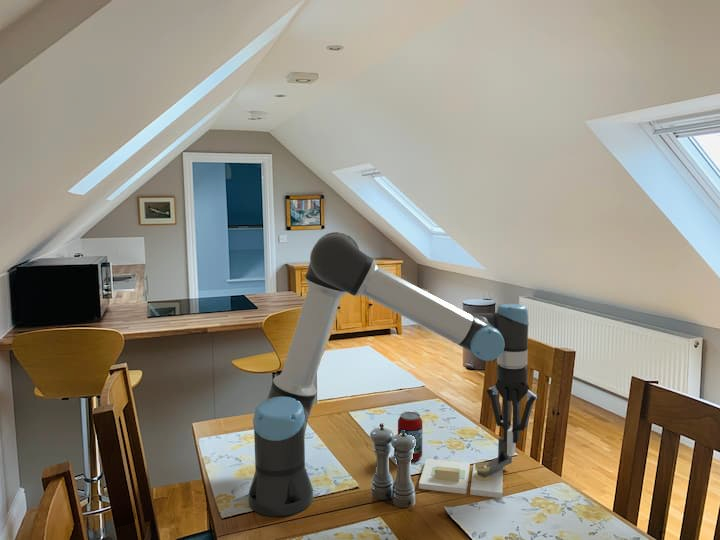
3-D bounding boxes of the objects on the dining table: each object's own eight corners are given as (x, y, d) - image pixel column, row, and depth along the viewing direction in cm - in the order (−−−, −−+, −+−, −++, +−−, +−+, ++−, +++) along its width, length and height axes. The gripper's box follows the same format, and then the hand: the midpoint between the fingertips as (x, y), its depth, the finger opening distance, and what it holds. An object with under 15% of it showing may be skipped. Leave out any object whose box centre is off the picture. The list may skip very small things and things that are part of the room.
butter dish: (466, 494, 139) (466, 479, 139) (418, 488, 142) (418, 473, 142) (469, 468, 153) (470, 454, 152) (426, 463, 155) (426, 450, 155)
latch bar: (484, 480, 142) (484, 454, 142) (472, 475, 145) (472, 450, 144) (513, 463, 151) (514, 439, 151) (501, 458, 154) (502, 435, 153)
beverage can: (402, 463, 155) (402, 421, 154) (394, 453, 162) (394, 412, 161) (426, 460, 157) (426, 418, 156) (417, 450, 164) (417, 409, 162)
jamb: (502, 498, 137) (502, 491, 137) (470, 494, 139) (470, 487, 139) (502, 471, 151) (503, 465, 150) (473, 468, 152) (473, 462, 152)
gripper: (541, 364, 147) (540, 453, 149) (492, 358, 154) (492, 443, 156) (533, 372, 140) (531, 464, 143) (482, 365, 147) (482, 453, 150)
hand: (511, 453), depth 150 cm, fingers closed
